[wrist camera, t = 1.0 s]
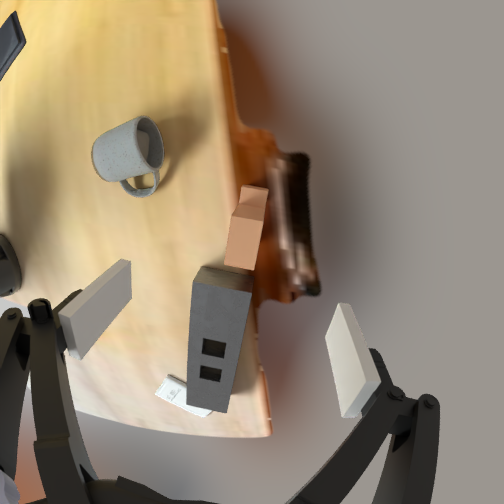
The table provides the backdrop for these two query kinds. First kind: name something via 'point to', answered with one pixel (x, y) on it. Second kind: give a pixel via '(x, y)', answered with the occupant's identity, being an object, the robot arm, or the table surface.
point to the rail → (215, 336)
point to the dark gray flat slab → (10, 42)
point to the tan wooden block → (246, 228)
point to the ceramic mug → (129, 154)
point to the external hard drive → (178, 395)
